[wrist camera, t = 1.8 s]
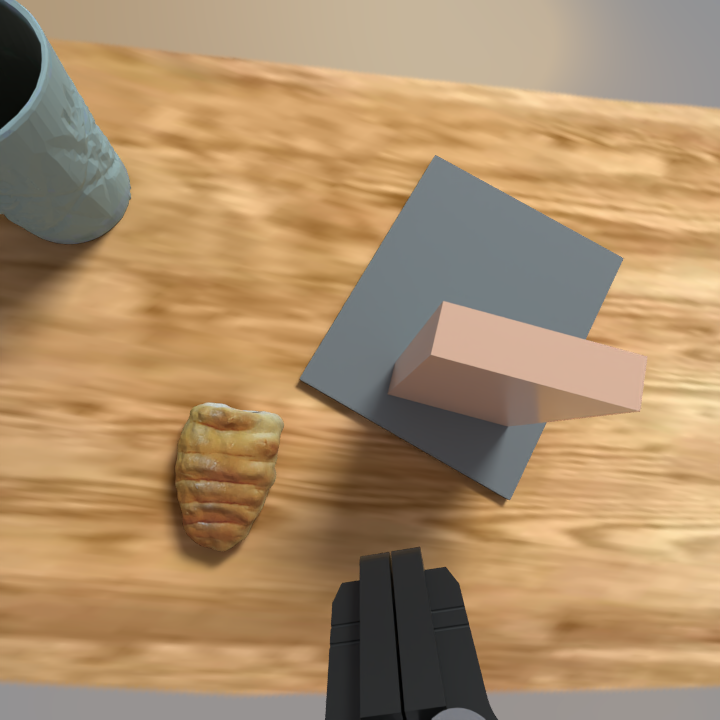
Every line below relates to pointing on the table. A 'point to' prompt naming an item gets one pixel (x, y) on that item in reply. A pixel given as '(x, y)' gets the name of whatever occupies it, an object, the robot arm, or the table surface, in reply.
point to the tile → (514, 371)
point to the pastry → (225, 471)
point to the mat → (465, 288)
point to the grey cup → (51, 143)
